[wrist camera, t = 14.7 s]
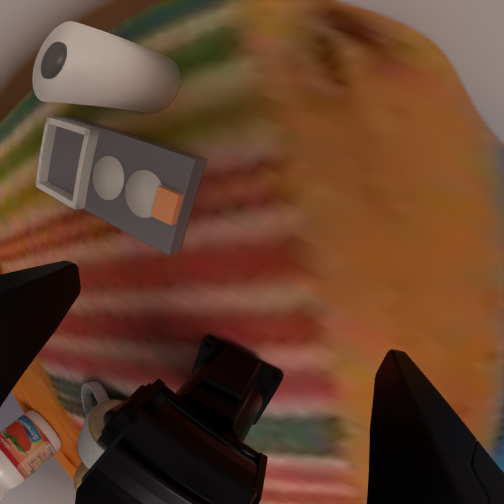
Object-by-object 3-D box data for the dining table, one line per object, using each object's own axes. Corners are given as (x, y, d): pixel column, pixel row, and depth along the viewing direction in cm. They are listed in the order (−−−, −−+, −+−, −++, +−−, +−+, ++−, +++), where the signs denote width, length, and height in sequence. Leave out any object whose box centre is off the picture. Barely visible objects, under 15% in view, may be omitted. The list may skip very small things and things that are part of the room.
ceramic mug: (169, 426, 29) (127, 474, 22) (150, 452, 32) (115, 492, 25) (94, 362, 30) (45, 397, 23) (86, 397, 33) (46, 429, 26)
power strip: (206, 159, 20) (187, 160, 17) (180, 249, 22) (160, 259, 20) (67, 115, 23) (46, 114, 20) (54, 183, 25) (34, 187, 23)
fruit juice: (44, 437, 47) (-37, 505, 21) (24, 402, 44) (-67, 470, 19) (70, 453, 43) (-17, 532, 18) (48, 417, 41) (-52, 498, 16)
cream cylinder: (169, 119, 20) (62, 106, 11) (124, 107, 21) (21, 97, 12) (189, 59, 18) (91, 17, 10) (141, 53, 19) (44, 23, 11)
